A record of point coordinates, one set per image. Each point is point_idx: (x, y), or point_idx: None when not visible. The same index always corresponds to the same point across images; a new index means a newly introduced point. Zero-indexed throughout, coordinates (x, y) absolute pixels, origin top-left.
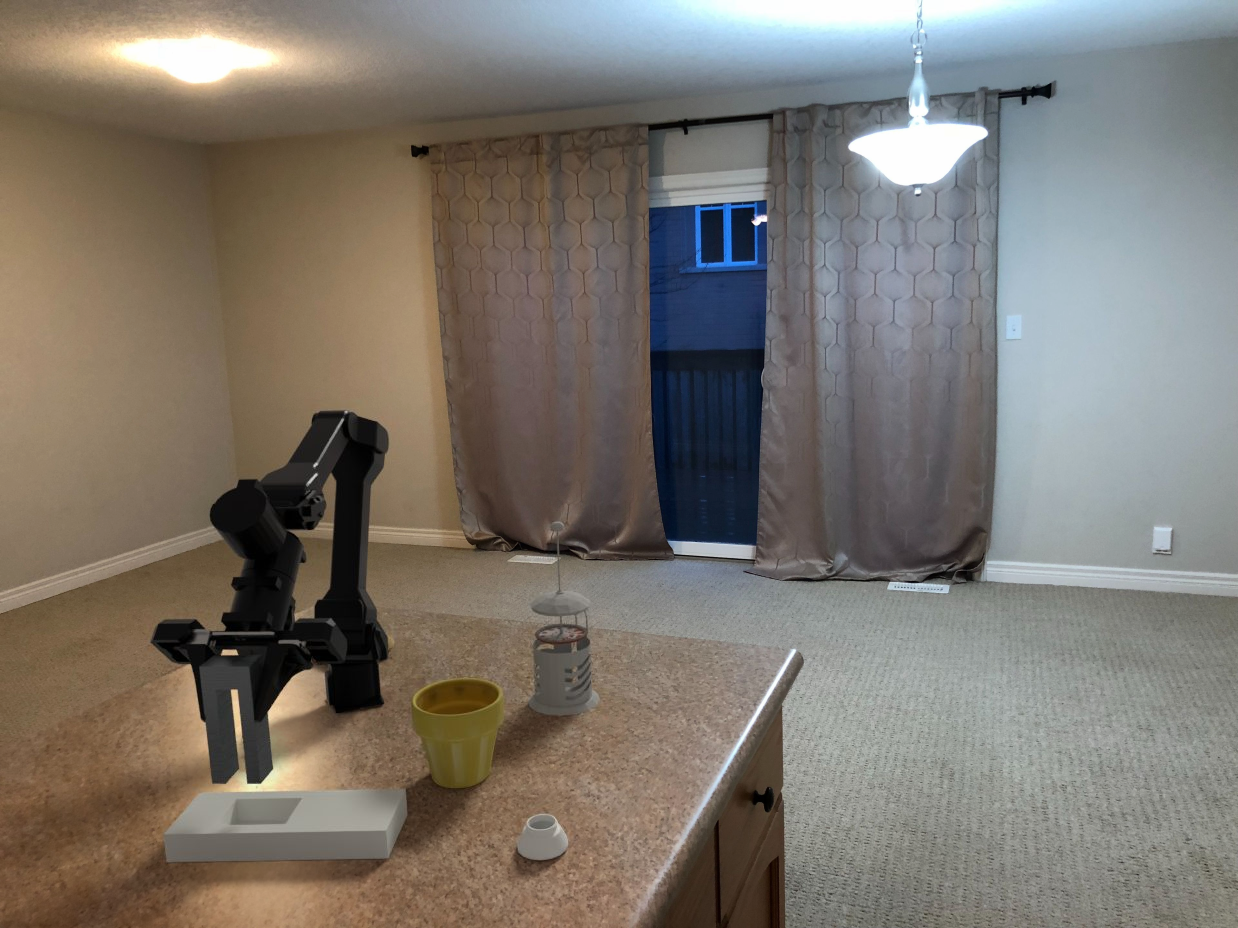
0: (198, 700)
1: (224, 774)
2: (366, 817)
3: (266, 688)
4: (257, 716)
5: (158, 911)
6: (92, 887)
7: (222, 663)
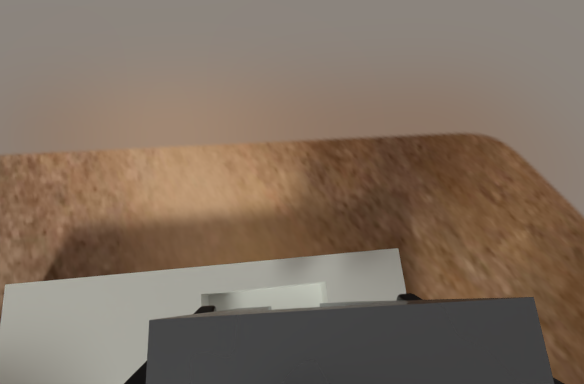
0: None
1: (322, 303)
2: (51, 327)
3: (139, 378)
4: (199, 308)
5: (325, 152)
6: (445, 192)
7: (398, 374)
